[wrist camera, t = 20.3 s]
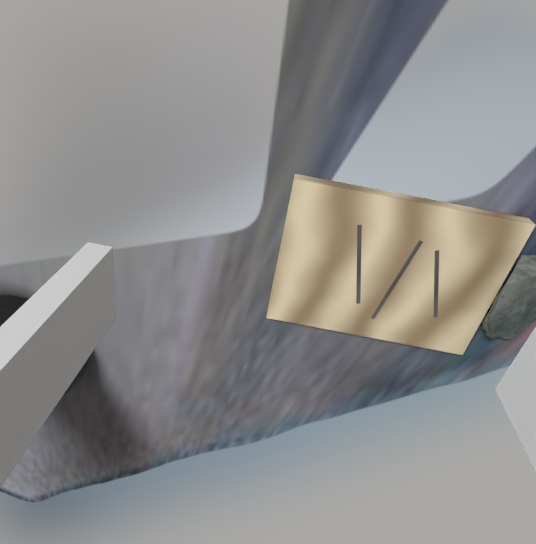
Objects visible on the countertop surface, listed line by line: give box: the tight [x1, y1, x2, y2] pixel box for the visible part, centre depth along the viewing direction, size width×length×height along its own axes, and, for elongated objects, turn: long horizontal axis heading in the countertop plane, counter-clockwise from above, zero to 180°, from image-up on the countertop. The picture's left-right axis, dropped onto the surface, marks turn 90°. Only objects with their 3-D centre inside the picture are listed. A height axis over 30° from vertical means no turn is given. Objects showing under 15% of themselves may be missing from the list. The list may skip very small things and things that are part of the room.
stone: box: [482, 255, 536, 340], centre depth 40 cm, size 11×4×10 cm
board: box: [266, 174, 535, 355], centre depth 41 cm, size 22×16×2 cm
